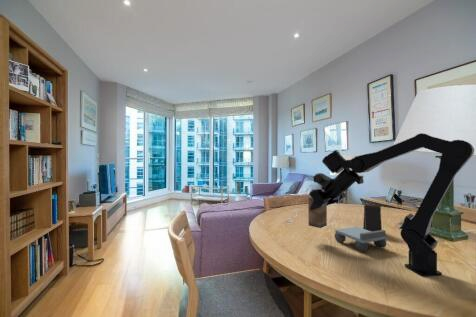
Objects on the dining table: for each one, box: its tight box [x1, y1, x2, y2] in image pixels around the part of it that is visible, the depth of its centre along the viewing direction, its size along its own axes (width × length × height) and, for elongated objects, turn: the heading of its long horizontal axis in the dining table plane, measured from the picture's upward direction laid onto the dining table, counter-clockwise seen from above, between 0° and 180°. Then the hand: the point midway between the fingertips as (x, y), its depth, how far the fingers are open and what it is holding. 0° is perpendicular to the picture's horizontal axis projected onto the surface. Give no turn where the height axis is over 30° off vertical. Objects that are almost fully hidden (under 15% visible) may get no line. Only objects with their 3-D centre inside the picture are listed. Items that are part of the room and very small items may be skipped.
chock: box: [307, 196, 328, 229], centre depth 97 cm, size 5×5×11 cm
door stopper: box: [362, 204, 383, 232], centre depth 107 cm, size 9×6×12 cm, turn 160°
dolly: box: [334, 226, 387, 253], centre depth 93 cm, size 14×11×6 cm
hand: (314, 208), depth 98 cm, fingers closed on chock, 5 cm apart
